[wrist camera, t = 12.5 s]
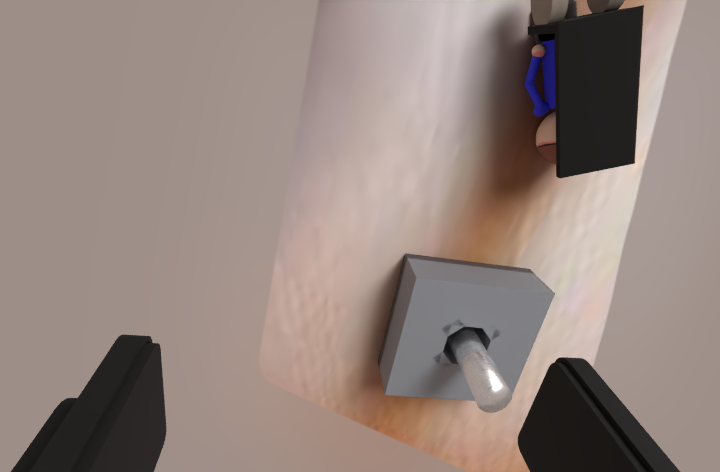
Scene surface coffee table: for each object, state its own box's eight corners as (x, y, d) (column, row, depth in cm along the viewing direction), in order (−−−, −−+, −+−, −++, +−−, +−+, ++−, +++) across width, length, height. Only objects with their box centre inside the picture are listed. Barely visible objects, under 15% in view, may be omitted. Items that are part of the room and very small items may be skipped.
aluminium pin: (444, 309, 44) (483, 384, 34) (470, 312, 44) (516, 386, 34) (437, 332, 45) (473, 411, 35) (462, 334, 45) (505, 413, 35)
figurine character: (502, -7, 34) (519, 169, 39) (550, -39, 27) (564, 182, 32) (580, -25, 34) (588, 153, 39) (648, -62, 27) (648, 162, 32)
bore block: (405, 253, 42) (416, 277, 37) (529, 269, 44) (554, 293, 39) (378, 362, 47) (384, 395, 42) (490, 371, 49) (508, 402, 45)
